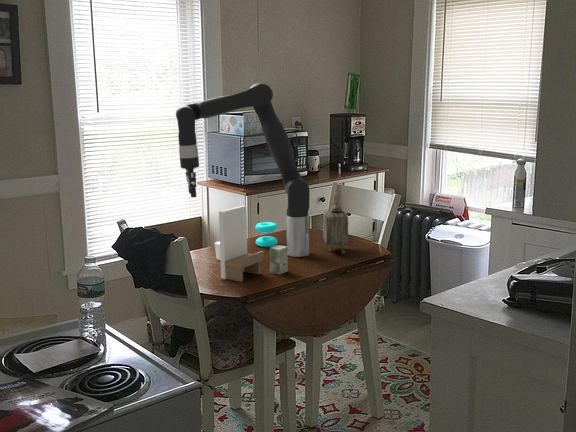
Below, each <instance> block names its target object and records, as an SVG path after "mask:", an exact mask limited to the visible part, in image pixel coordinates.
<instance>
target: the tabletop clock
mask: <svg viewBox="0 0 576 432" xmlns="http://www.w3.org/2000/svg"><path fill="white" fill-rule="evenodd" d="M338 204H339V198H338V195H337V194H335V195H334V205H332V206H331V208H330V210H327V211H325V212H323V216H322V220H323V221H322V222H323V223H322V224H323V225H322V229H323V230H322V236H323V240H324V243H325V244H326V245H328V246H330V247H329V248H328V251H329V252H332V251H333V246H337V248H338V249H340V250H341V252H340V253H341V255H345V253H346V251H345V250H343V247H342V246H348V244H349V215H348V213H347V211H346V210H345V209H344V210H343V209H342V207H341V206H340V205H338Z"/></svg>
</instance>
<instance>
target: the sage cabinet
mask: <svg viewBox="0 0 576 432" xmlns="http://www.w3.org/2000/svg"><path fill="white" fill-rule="evenodd" d="M288 258H289V257H288V255H287V245H281V244H277V245H275V246H273V247H269V273H270V274H275V275H283V274H284V273H287V272H288V269H289V268H288V261H289V260H288Z"/></svg>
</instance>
